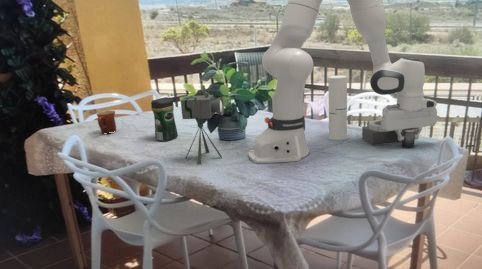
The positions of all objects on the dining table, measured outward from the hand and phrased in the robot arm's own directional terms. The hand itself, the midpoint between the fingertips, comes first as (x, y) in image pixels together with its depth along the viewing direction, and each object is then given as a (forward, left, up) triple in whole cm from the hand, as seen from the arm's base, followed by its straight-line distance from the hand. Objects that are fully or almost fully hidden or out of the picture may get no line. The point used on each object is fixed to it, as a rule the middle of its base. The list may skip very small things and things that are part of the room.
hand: (408, 139), depth 149 cm
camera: (-74, +14, -3) cm, 75 cm away
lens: (0, 0, -3) cm, 3 cm away
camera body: (-5, +10, -3) cm, 11 cm away
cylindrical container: (-19, +20, -3) cm, 28 cm away
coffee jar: (-89, +47, -3) cm, 101 cm away
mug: (-118, +68, -3) cm, 136 cm away
